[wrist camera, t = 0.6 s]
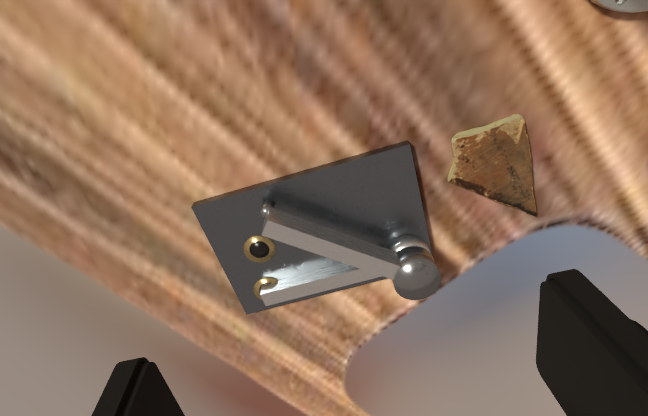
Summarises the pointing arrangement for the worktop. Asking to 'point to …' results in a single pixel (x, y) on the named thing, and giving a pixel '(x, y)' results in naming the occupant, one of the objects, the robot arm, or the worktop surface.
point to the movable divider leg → (356, 252)
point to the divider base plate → (321, 208)
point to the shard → (496, 163)
